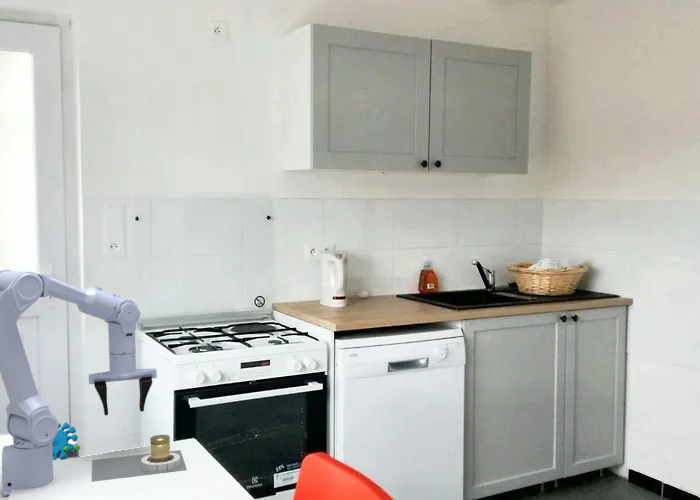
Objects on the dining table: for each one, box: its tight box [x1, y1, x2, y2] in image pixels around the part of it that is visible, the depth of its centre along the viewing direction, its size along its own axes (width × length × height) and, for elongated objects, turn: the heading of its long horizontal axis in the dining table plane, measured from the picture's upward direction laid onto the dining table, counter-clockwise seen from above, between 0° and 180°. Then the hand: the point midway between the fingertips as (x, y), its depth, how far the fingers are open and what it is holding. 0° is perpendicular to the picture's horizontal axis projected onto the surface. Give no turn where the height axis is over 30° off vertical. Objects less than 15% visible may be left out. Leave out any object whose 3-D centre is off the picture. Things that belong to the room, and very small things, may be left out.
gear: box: [52, 421, 81, 461], centre depth 168 cm, size 11×6×10 cm
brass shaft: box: [149, 434, 171, 463], centre depth 159 cm, size 4×4×6 cm
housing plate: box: [91, 449, 188, 483], centre depth 159 cm, size 19×14×2 cm
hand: (124, 412), depth 166 cm, fingers open, 7 cm apart
